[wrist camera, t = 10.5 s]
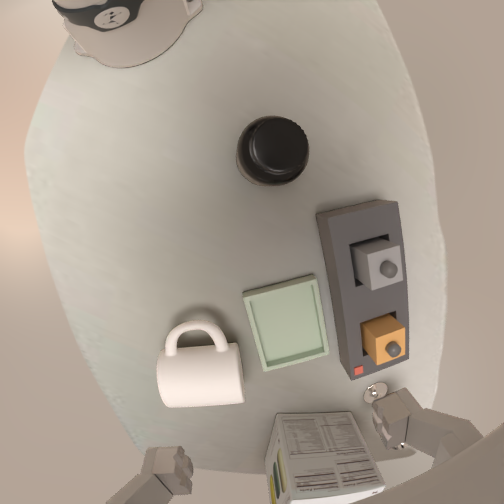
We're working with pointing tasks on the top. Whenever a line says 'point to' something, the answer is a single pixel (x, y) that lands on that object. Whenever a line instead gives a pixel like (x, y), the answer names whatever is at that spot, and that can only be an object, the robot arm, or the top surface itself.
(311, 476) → the supplement box
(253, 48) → the top surface
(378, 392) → the wineglass
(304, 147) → the supplement bottle
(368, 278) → the gray knobbed block
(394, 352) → the plug
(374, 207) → the strip
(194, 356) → the mug
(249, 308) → the tray
